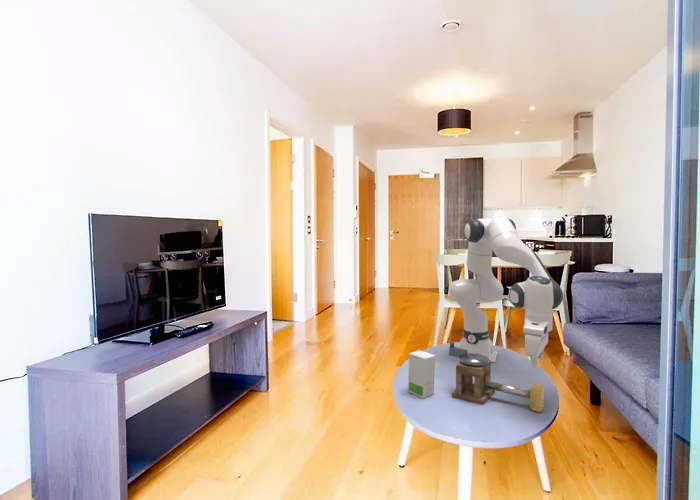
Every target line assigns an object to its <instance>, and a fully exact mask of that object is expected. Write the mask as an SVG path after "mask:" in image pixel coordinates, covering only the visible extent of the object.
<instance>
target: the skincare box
mask: <svg viewBox="0 0 700 500" xmlns="http://www.w3.org/2000/svg"><path fill="white" fill-rule="evenodd" d="M435 367H436V355H435V354H432V353H429V352H427V351H423V350H420V349H418V350H415V351H412V352H409V354H408V380H407V381H408V383H407V385H408V386H407V392H408V393H411V394H412V395H415V396H417V397H420V398H422V399H426V398H429V397H430V396H433V395H434V394H435V371H436V368H435Z"/></svg>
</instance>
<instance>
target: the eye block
mask: <svg viewBox="0 0 700 500" xmlns="http://www.w3.org/2000/svg"><path fill="white" fill-rule="evenodd" d="M491 363H492V362H491V360H489V364H488V365H486V366H481V367H474V366H468V365H464V364H462V363H460V362H459V361H458V363H457V364H456V365H455V389H454V391H452V392H451V398H455V399H458V400H462V401H466V402H470V403H473V404H477V405H481V406H482V405H483V406H484V405H485V404H486V402H488V401H489V399H490V398H491V397H492V396H493V394H495V390H491V389H487V385H486V384H485V376H486V375H488V376H491V377H492V375H491V374H492V372H491V370H492V367H491ZM473 378H474V382H473Z"/></svg>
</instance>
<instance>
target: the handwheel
mask: <svg viewBox="0 0 700 500" xmlns="http://www.w3.org/2000/svg"><path fill="white" fill-rule="evenodd" d="M448 351H449V353H448V356H451V357H454V358H455V357H456V358H458V363H459V362H460V363H462V364H464V365H468V366H474V367H481V366H486V365H488V364H489V358H488V357H486V356H484V355H481V354H474V353H468V350H466V349H462V348H460V347H456V346H455V342H454V341H451V342H449V349H448Z"/></svg>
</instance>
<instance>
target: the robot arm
mask: <svg viewBox="0 0 700 500" xmlns="http://www.w3.org/2000/svg"><path fill="white" fill-rule="evenodd" d="M463 232H464V233H463V234H464V237H465V239H466V240H467V241H468V246H467V256H466V267H467V269H468V270H469V272H471V273H474V274H476V278H469V279H468V278H467V279H466V278H465V279H464V278H463V279H457V280H453V281H452V282H451V283H450V286H449V289H448V292H449V295H450V297H451V300H453V301H454V302H456V304H458V306H459V307H460V308H461V311H462V315H463V330H462V337H461V339H460V340H459V348H462V349H466V350H468V353H474V354H481V355H484V356H486V357H488V358H489V360H491V363H496V362H497V358H498V354H499V353H498V351H496V350H494V343H493V341H492V339H490V332H491V330H490V328H489V326H488V325H489V316H488V314H487V312H486V311H484V310H482V309H481V308H479V307H478V306H477V302H478V303H479V302H481V303H482V302H483V303H484V302H493V301H494V302H495V301H498V300H501V298H502V297H503V295H504V287H503V284H502V283H501V282H500V281H499V280H498V279H497V278H496V277H495V275H494V273H493V269H492V260H493V259H492V258H493V252H494V254H495V256H496V257H497V258H498V259H500V260H501V261H503V262H505V263H510V264H514V265H517V266H520V267H523V268H525V269H526V270H528V271H529V273H530V275H531V276H529V277H527V279H526V280H525V281H522V282H521V281H520V282H515V283H514V284H513V285H512V286H511V287H510V289H509V291H508V292H509V293H508V294H509V295H508V297H509V302H510V303H511V305H512V306H513V307H515V308H516V309H521V310H525V313H524V321H523V322H524V324H523V328H522V331H523V333H524V351H525V355H526V356H527V357H529V359H530V366H531V367H533V368H537V366H538V362H539V361H538V360H542V359H543V358H544V350H545V348H546V345H548V343H549V332H551V331H553V325H554V324H553V322H554V321H553V320H554V314H553V310H555V309H557V308H558V307H559V306H560V305H561V304H562V303H563V300H564V292H563V289H562V287H561V286H560V285H559V284H558V283H557V282H556V281H555V280H554V279H553V277H552V276H551V274H550V273H549V271H548V270H547V267H546V266H545V265H544V264H543V262H542V260H541V259H540V257H539V256H538V254H537V253H536V252H535V251H534V250H533V249H532V248H530V247H528V246H527V245H526V244H525V243H524V242H523V241H522V239H521V238H520V236H519V234H518V232H517V226H516V223H515V222H514V220H513V219H511V218H507V217H505V216H497V217H488V218H487V217H486V218H472V219H469V220H467V221H466V223H465V225H464V230H463Z"/></svg>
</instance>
